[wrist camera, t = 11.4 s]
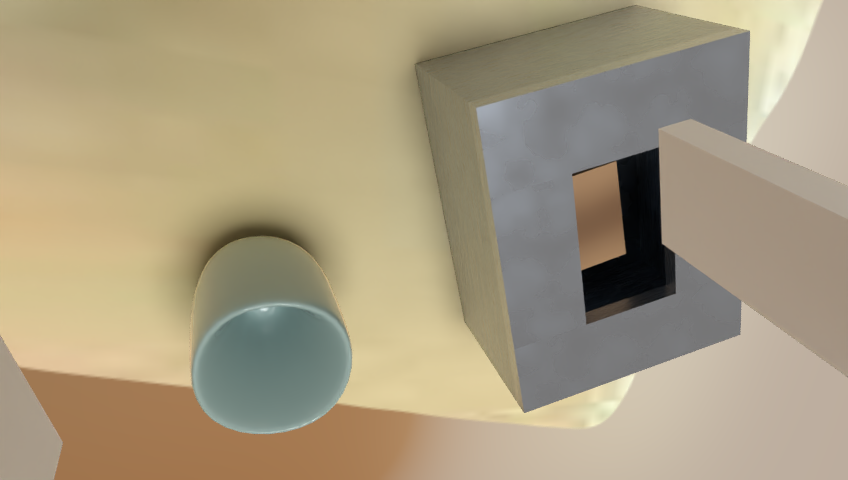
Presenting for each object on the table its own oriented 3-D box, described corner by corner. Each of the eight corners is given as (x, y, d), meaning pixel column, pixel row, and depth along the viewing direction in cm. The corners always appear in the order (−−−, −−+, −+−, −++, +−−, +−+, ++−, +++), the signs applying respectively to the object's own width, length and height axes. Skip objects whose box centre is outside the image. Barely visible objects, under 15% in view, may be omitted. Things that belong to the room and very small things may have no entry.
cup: (328, 218, 42) (363, 299, 34) (317, 330, 45) (346, 431, 37) (191, 214, 40) (190, 300, 31) (189, 333, 43) (187, 442, 34)
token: (521, 145, 43) (566, 178, 38) (566, 130, 44) (616, 161, 38) (536, 229, 46) (579, 270, 41) (577, 214, 46) (625, 253, 41)
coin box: (414, 63, 40) (475, 107, 31) (635, 5, 42) (750, 31, 33) (464, 321, 48) (524, 412, 40) (646, 261, 51) (740, 334, 42)
